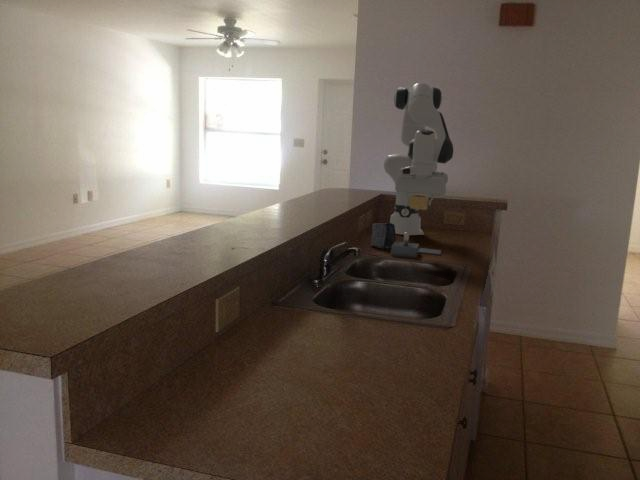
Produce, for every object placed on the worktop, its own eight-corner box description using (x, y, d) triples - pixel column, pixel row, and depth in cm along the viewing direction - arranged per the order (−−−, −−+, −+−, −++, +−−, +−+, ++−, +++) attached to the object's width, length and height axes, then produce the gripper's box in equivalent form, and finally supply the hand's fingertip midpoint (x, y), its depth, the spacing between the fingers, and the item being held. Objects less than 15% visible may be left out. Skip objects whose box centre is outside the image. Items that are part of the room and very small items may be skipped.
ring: (411, 206, 236) (412, 194, 235) (427, 207, 234) (428, 195, 233) (409, 208, 230) (410, 196, 229) (425, 209, 228) (426, 197, 227)
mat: (420, 249, 245) (420, 247, 245) (441, 251, 243) (441, 250, 242) (418, 253, 236) (418, 251, 236) (440, 255, 234) (440, 254, 234)
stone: (398, 252, 244) (386, 248, 236) (378, 252, 250) (366, 248, 242) (400, 225, 246) (388, 220, 238) (380, 226, 252) (368, 221, 244)
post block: (394, 250, 238) (395, 229, 236) (418, 253, 236) (420, 231, 234) (390, 255, 228) (392, 233, 227) (415, 257, 226) (417, 235, 224)
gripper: (448, 172, 229) (445, 206, 232) (398, 168, 235) (395, 201, 237) (448, 173, 223) (444, 208, 226) (396, 169, 229) (393, 203, 231)
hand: (419, 204), depth 232 cm, fingers closed on ring, 6 cm apart
